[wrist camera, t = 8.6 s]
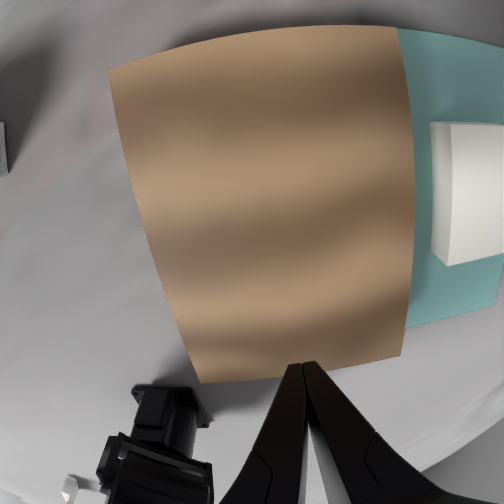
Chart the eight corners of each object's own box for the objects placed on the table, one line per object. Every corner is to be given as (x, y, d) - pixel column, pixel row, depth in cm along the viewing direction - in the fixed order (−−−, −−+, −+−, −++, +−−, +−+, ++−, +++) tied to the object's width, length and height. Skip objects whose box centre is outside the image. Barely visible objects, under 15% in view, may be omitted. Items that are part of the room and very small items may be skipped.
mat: (492, 301, 22) (494, 303, 21) (382, 331, 23) (383, 333, 22) (502, 49, 13) (505, 48, 12) (366, 27, 14) (368, 26, 13)
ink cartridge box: (70, 484, 48) (60, 514, 39) (67, 473, 44) (55, 506, 35) (79, 488, 49) (70, 518, 40) (77, 478, 44) (65, 511, 35)
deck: (383, 321, 22) (400, 355, 19) (207, 346, 24) (200, 383, 20) (369, 42, 14) (396, 27, 10) (137, 77, 15) (107, 70, 12)
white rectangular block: (447, 266, 17) (430, 250, 19) (507, 252, 16) (488, 238, 19) (450, 124, 13) (429, 121, 16) (514, 127, 13) (492, 123, 15)
